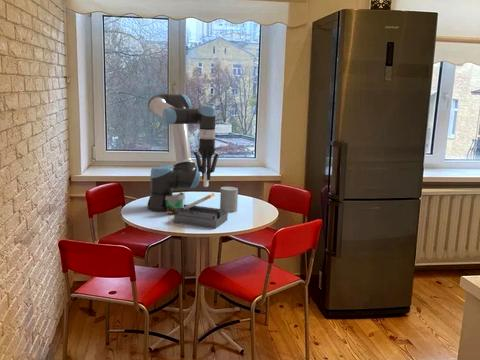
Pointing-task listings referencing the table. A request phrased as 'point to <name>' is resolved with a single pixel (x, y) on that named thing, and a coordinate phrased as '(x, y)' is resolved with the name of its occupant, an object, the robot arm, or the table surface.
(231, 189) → the concrete plant pot
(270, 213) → the table surface
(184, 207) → the beige and orange bar
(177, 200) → the food container
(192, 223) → the grey metal tray
